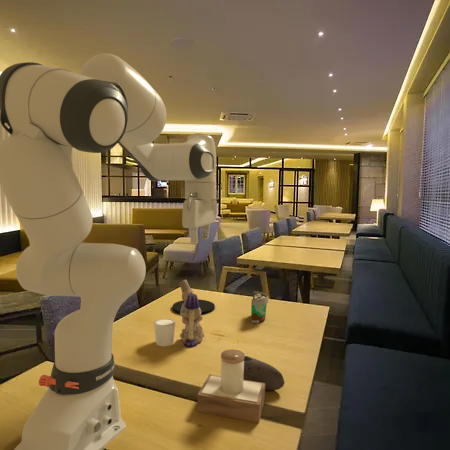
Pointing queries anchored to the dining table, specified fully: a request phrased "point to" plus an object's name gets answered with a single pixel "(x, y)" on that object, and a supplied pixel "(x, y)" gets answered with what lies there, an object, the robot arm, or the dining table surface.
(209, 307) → the wireless charger
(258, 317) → the food container
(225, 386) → the cream canister
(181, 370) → the dining table surface
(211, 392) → the walnut plinth
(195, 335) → the figurine
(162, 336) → the shot glass
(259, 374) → the brown oblong lump
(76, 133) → the robot arm
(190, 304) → the toy lamp
